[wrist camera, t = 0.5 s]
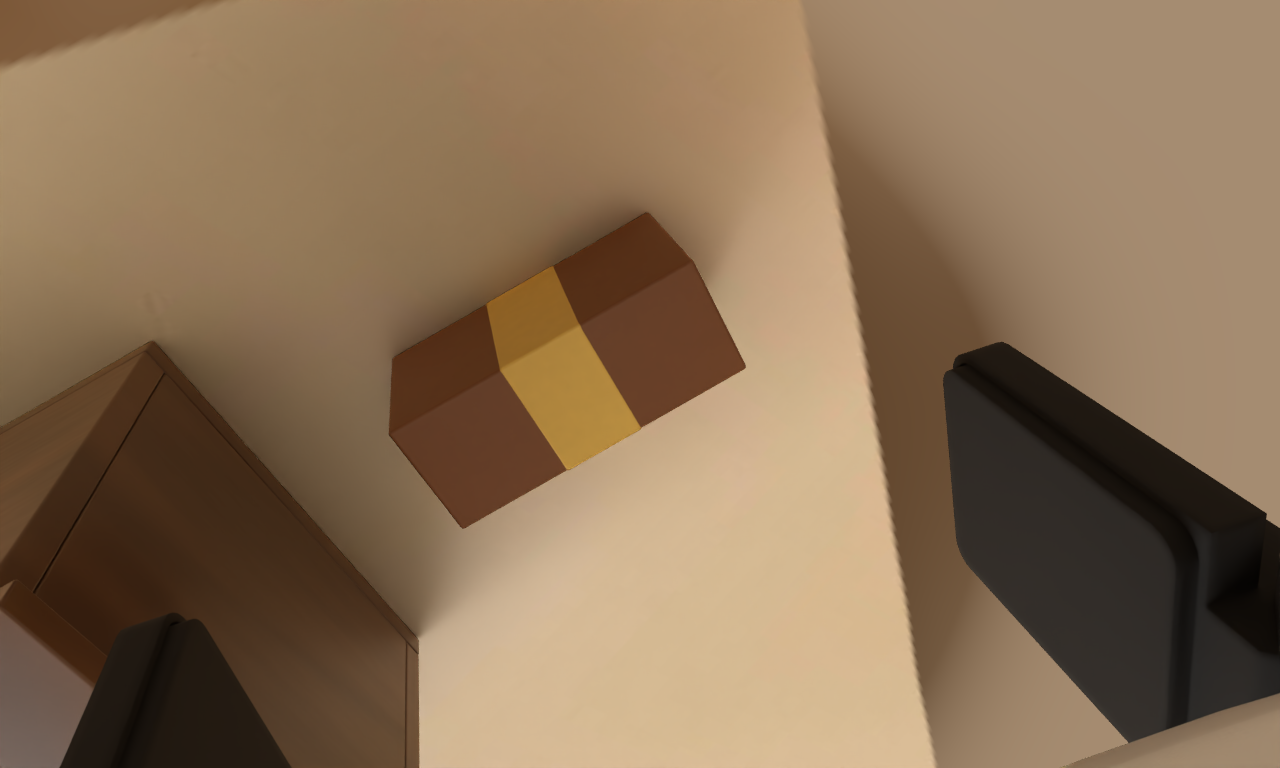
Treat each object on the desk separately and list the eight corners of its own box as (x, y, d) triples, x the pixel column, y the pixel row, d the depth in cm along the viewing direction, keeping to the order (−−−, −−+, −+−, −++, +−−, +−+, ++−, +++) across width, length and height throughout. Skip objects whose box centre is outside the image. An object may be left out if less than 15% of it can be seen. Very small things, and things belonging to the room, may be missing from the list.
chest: (153, 339, 26) (-22, 597, 15) (419, 639, 32) (422, 965, 22) (-284, 591, 26) (-747, 1013, 16) (67, 839, 32) (-96, 1256, 22)
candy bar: (390, 357, 28) (386, 434, 23) (647, 210, 27) (692, 259, 23) (455, 444, 29) (462, 531, 25) (697, 306, 29) (748, 369, 25)
